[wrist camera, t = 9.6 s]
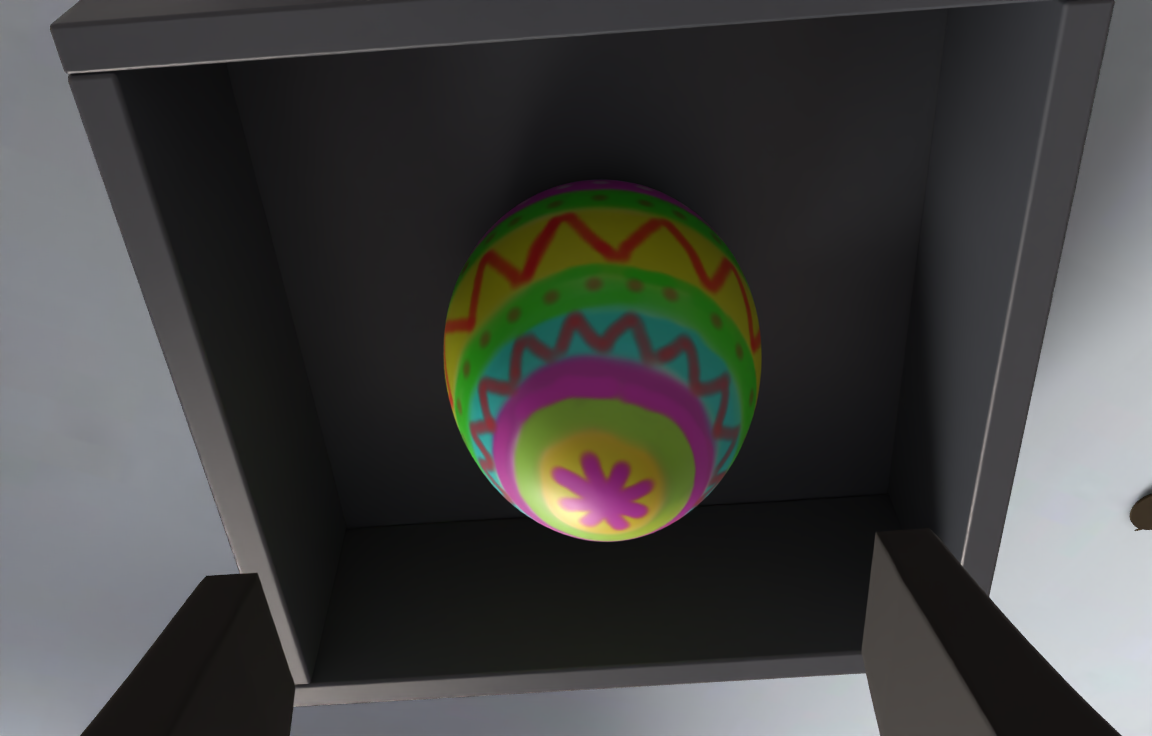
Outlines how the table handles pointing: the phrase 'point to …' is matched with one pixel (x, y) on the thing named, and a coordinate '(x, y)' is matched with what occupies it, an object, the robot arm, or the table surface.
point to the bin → (530, 166)
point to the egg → (602, 358)
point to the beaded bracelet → (1142, 513)
